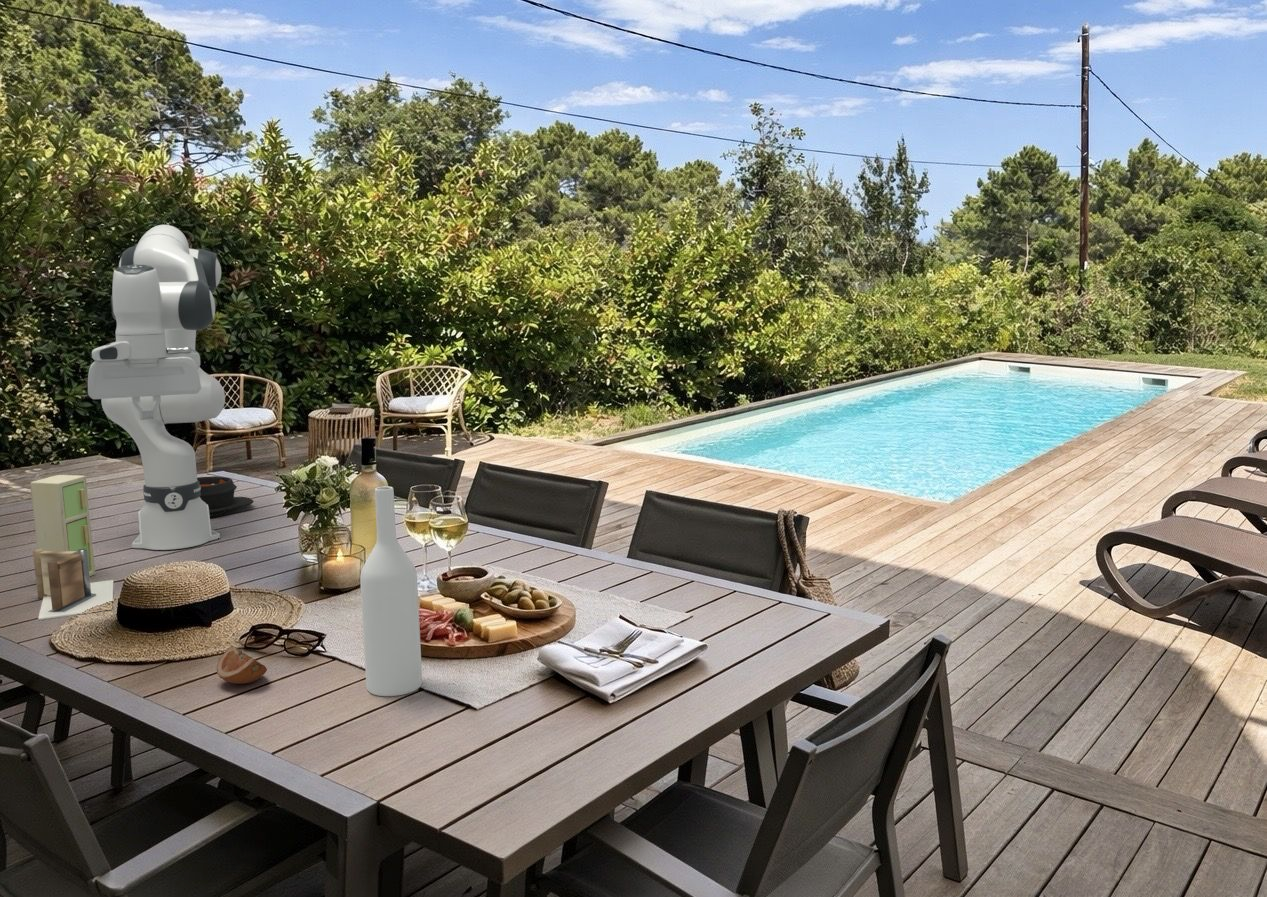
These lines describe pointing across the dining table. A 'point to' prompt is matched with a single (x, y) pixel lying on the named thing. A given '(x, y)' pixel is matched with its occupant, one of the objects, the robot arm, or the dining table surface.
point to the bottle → (390, 609)
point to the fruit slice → (239, 667)
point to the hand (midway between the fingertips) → (148, 419)
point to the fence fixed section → (48, 556)
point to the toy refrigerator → (62, 515)
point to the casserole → (220, 494)
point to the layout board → (79, 601)
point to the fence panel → (66, 580)
